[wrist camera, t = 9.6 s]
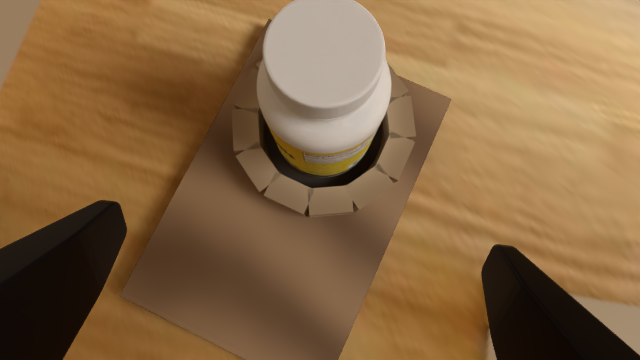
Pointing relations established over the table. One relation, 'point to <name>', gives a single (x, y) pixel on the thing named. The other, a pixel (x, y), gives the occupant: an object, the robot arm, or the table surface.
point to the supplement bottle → (323, 84)
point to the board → (280, 229)
